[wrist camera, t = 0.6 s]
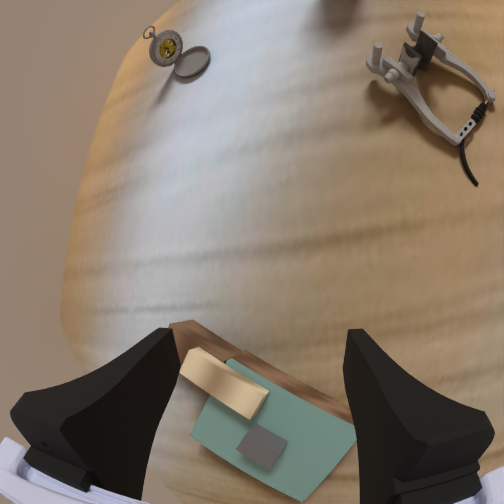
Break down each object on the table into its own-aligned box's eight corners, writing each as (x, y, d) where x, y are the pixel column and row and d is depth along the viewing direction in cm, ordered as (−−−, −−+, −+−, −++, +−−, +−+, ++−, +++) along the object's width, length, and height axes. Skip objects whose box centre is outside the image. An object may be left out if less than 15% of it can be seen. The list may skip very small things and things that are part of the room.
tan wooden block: (269, 391, 29) (262, 397, 27) (257, 412, 29) (249, 419, 27) (198, 346, 32) (188, 350, 30) (189, 368, 32) (179, 372, 30)
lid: (361, 429, 26) (359, 447, 22) (304, 497, 27) (295, 517, 23) (231, 357, 32) (213, 366, 28) (193, 432, 33) (175, 445, 29)
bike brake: (354, 74, 33) (467, 189, 29) (356, 44, 26) (492, 178, 23) (412, 29, 30) (515, 129, 27) (420, 0, 23) (539, 112, 20)
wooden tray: (363, 413, 30) (361, 432, 25) (311, 480, 31) (302, 502, 26) (193, 317, 38) (170, 321, 34) (164, 388, 39) (141, 397, 35)
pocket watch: (211, 71, 42) (177, 34, 32) (167, 87, 45) (129, 57, 35) (212, 38, 43) (182, 2, 33) (171, 54, 46) (138, 24, 36)
